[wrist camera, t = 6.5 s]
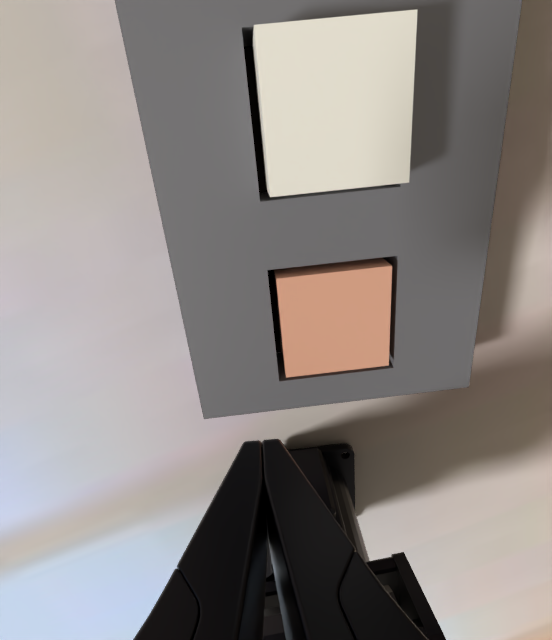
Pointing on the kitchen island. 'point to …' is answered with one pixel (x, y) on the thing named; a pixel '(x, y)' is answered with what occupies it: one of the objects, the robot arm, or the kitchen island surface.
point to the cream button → (336, 101)
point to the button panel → (320, 195)
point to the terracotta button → (334, 316)
